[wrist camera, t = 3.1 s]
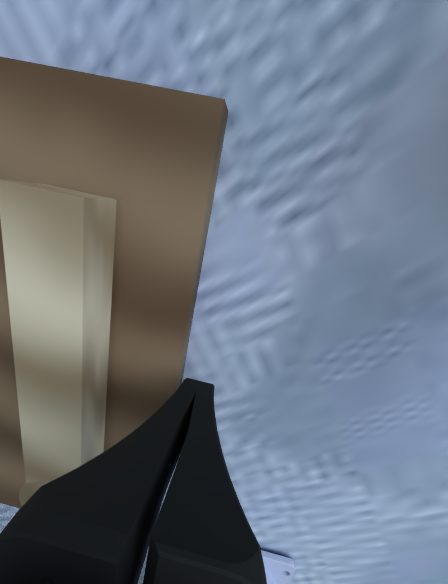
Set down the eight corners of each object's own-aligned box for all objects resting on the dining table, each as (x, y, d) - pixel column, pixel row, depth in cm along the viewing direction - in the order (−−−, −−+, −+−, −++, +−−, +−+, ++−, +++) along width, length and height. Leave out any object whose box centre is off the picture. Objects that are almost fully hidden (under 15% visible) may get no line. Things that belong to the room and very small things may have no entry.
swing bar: (108, 501, 16) (73, 569, 13) (48, 484, 16) (1, 547, 13) (129, 202, 10) (73, 200, 7) (33, 181, 10) (-62, 171, 7)
